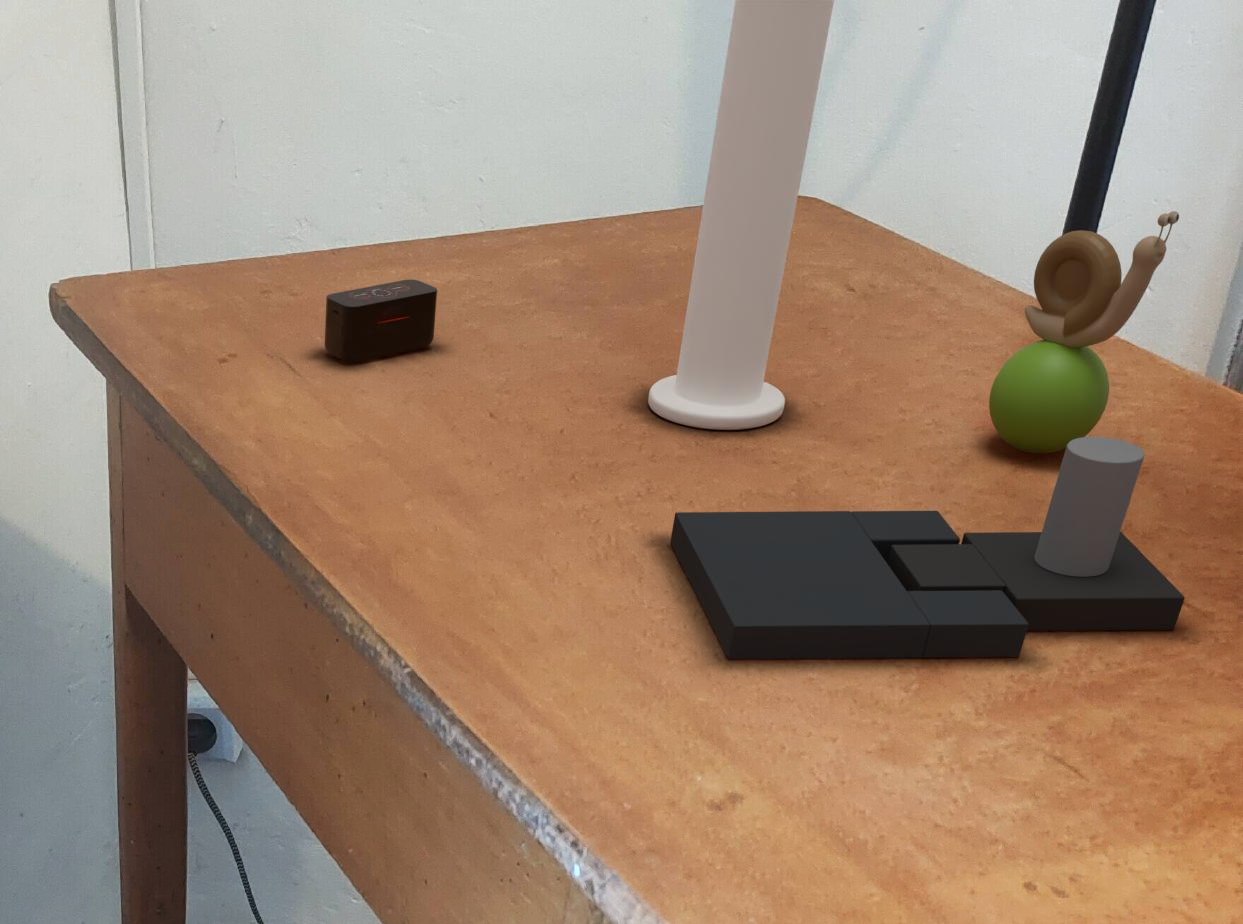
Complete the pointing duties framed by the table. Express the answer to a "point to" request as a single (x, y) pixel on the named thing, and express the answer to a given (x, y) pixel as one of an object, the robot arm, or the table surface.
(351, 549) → the table surface
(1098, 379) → the snail figurine
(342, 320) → the black bluetooth speaker
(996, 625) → the dock pad
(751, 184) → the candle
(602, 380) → the table surface
